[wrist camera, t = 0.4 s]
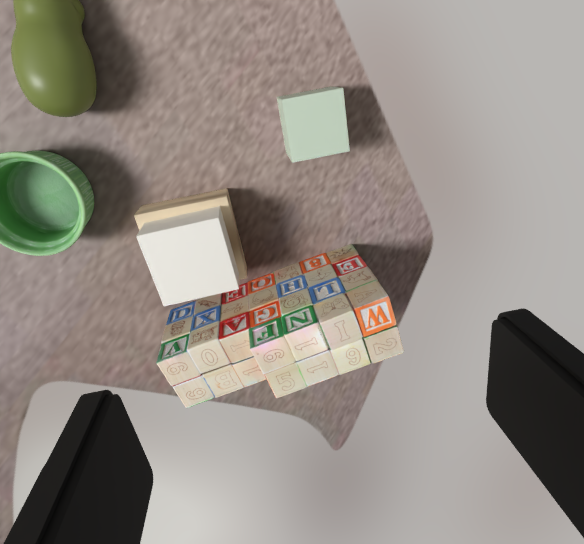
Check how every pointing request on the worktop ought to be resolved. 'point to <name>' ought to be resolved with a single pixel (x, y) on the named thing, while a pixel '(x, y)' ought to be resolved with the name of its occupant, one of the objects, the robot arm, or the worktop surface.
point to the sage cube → (314, 123)
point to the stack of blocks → (281, 330)
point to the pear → (53, 56)
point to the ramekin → (42, 202)
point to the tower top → (189, 255)
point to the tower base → (196, 204)
